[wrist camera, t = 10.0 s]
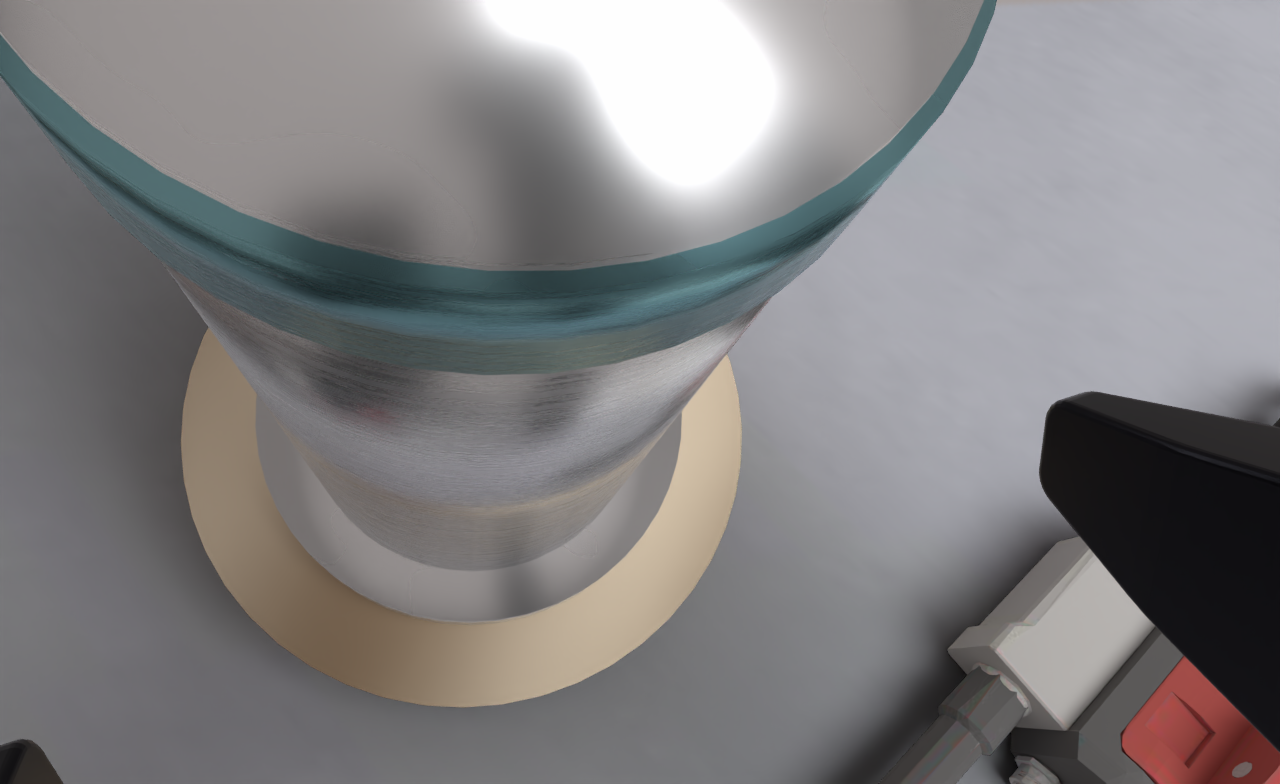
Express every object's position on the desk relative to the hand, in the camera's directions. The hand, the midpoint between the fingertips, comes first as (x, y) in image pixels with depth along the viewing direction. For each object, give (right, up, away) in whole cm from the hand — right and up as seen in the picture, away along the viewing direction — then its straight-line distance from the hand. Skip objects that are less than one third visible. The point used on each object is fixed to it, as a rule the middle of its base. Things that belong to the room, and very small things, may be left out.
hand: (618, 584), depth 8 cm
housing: (-3, +1, +9) cm, 10 cm away
